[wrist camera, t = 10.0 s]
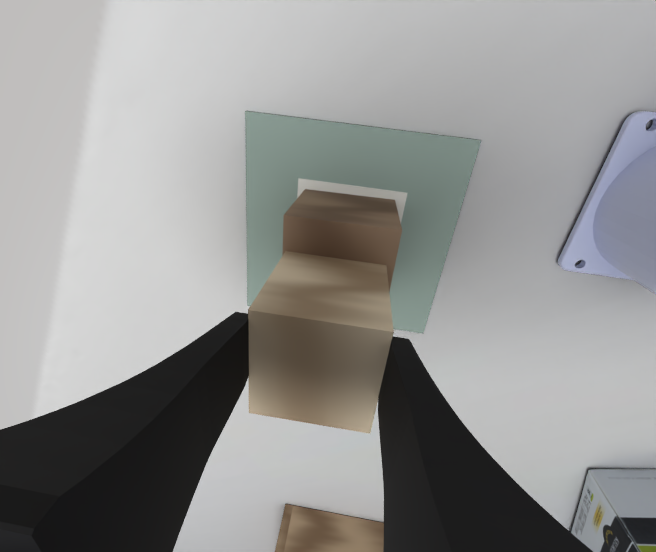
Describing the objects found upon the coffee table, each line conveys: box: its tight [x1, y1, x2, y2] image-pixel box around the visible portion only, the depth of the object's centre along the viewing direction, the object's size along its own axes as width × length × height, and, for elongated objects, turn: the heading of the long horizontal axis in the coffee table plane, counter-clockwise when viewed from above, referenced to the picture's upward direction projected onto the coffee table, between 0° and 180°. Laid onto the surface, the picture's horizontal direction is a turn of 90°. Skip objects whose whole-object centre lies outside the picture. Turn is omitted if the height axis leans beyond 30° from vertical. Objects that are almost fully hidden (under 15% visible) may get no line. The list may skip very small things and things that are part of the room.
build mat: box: [245, 111, 481, 333], centre depth 19 cm, size 12×12×1 cm
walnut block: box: [282, 189, 402, 292], centre depth 17 cm, size 5×5×5 cm
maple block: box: [248, 251, 394, 433], centre depth 13 cm, size 4×4×5 cm
